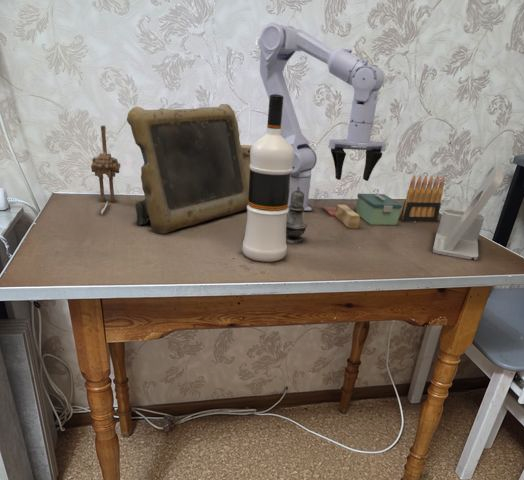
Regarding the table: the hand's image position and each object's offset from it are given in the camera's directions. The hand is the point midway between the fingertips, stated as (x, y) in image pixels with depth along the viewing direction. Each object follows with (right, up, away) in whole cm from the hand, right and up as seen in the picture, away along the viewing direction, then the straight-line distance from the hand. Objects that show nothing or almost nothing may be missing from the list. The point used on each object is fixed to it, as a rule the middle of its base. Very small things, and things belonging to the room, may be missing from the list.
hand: (351, 179), depth 125 cm
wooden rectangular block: (-2, -9, +5) cm, 10 cm away
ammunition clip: (+20, -8, +9) cm, 24 cm away
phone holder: (+24, -19, -8) cm, 32 cm away
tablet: (-40, -11, -4) cm, 42 cm away
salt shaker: (-16, -19, -13) cm, 28 cm away
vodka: (-23, -25, -24) cm, 41 cm away
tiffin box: (+8, -8, +7) cm, 14 cm away
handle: (-28, -3, +11) cm, 31 cm away
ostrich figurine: (-63, -7, -1) cm, 64 cm away
